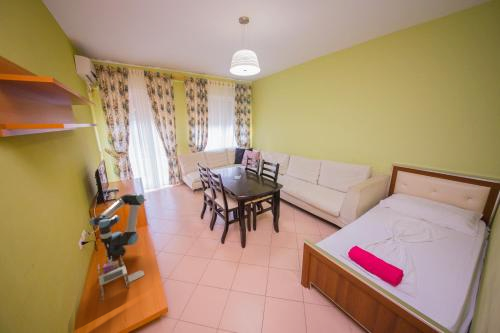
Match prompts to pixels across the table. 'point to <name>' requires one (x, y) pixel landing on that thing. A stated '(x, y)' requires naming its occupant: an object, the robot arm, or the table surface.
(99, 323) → the table surface
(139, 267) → the table surface
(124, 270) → the cover
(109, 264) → the box
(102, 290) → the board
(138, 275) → the mat
